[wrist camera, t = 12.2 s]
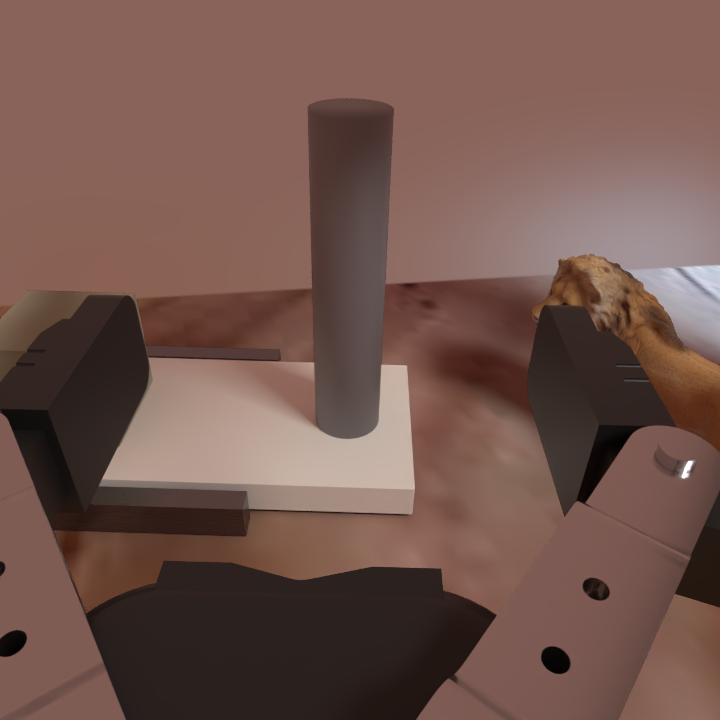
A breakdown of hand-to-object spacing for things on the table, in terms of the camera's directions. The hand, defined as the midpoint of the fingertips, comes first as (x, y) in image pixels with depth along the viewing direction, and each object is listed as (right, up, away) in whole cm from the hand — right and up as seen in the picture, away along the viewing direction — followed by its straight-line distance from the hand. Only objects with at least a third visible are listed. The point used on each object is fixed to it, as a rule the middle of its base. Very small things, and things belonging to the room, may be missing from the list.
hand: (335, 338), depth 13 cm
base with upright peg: (-7, -4, +18) cm, 20 cm away
